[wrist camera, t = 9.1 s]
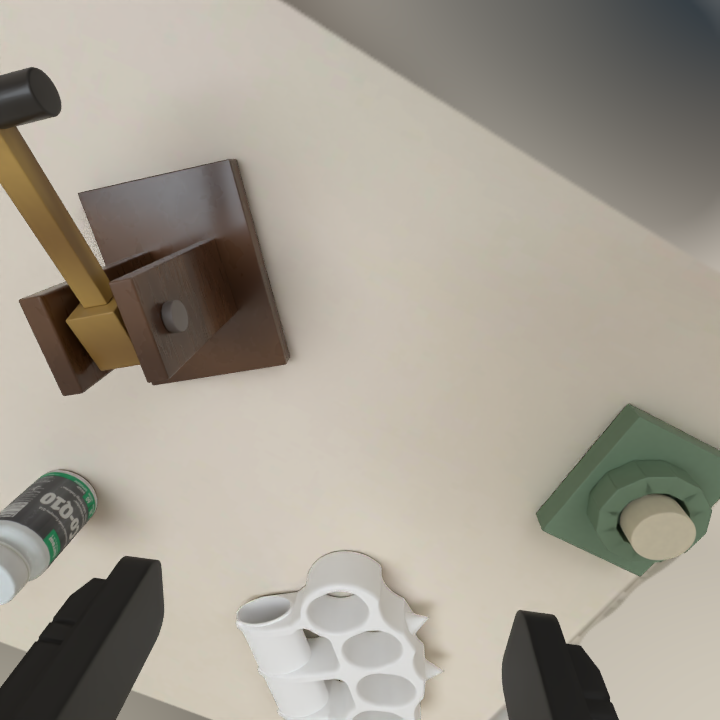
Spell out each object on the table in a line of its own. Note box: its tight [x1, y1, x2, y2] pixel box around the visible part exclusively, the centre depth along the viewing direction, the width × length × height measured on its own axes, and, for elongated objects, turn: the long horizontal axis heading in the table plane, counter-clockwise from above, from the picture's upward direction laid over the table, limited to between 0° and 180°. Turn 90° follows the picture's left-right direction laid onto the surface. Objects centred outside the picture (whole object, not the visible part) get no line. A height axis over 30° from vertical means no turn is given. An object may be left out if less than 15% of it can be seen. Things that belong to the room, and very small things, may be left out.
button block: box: [536, 404, 720, 576], centre depth 32 cm, size 10×8×4 cm
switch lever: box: [0, 67, 140, 371], centre depth 20 cm, size 11×5×2 cm, turn 11°
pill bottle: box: [0, 470, 98, 605], centre depth 34 cm, size 5×5×8 cm
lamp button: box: [620, 494, 696, 560], centre depth 30 cm, size 4×4×2 cm
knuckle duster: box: [236, 551, 444, 720], centre depth 40 cm, size 3×18×15 cm
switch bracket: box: [19, 159, 290, 396], centre depth 25 cm, size 12×9×11 cm
